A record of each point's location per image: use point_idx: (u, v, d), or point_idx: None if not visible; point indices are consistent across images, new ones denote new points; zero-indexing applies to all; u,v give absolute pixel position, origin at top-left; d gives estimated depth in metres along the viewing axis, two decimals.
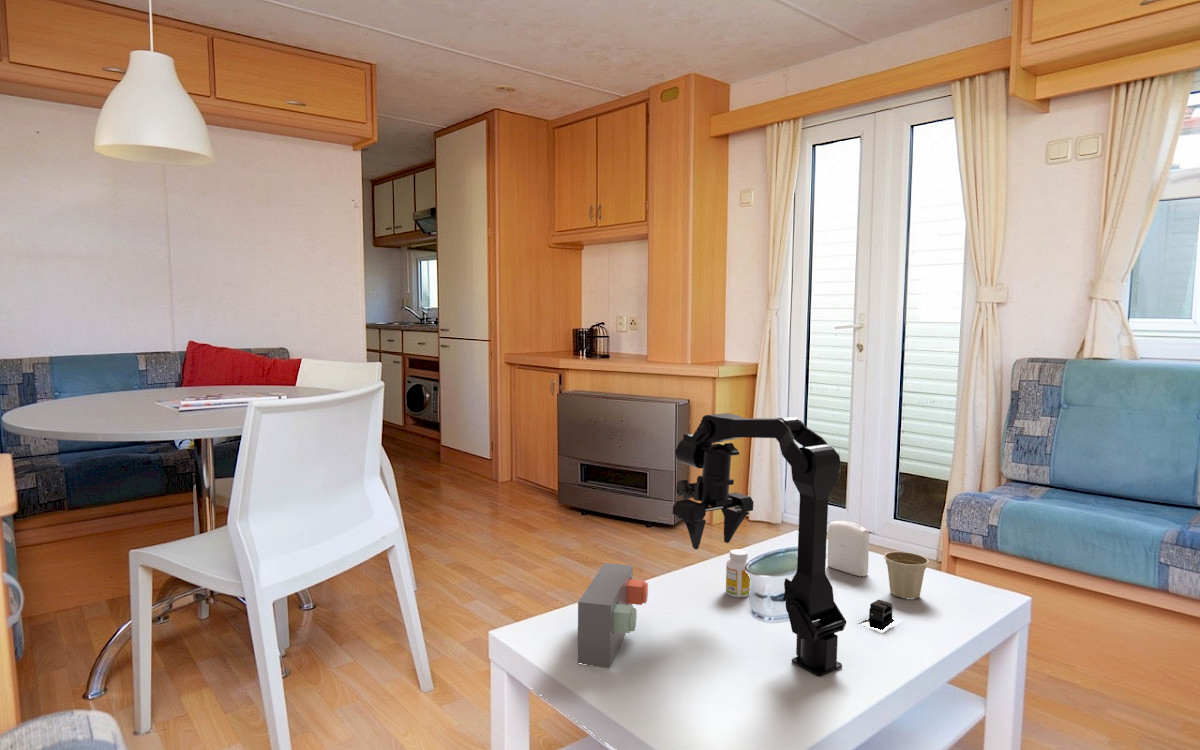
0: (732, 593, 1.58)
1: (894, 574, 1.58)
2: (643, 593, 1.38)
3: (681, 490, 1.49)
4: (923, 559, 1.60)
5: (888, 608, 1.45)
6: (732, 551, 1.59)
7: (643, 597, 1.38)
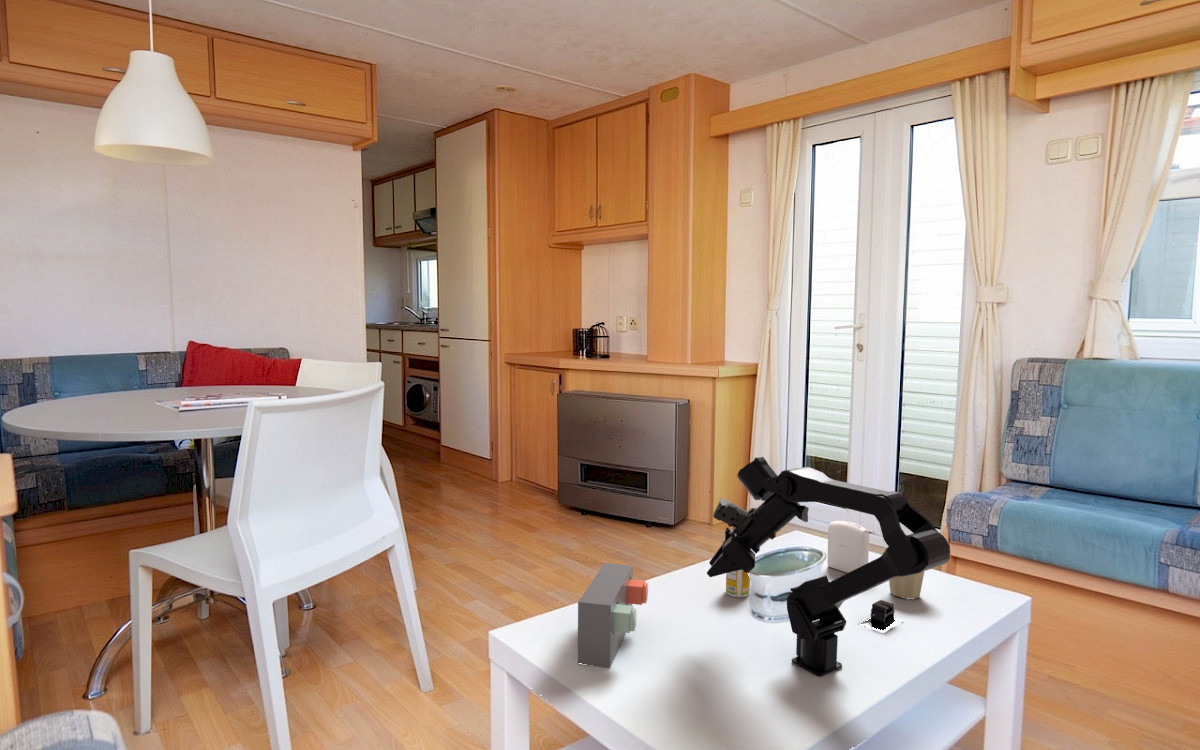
0: (732, 593, 1.58)
1: None
2: (643, 593, 1.38)
3: (729, 517, 1.31)
4: None
5: (890, 608, 1.45)
6: None
7: (643, 597, 1.38)
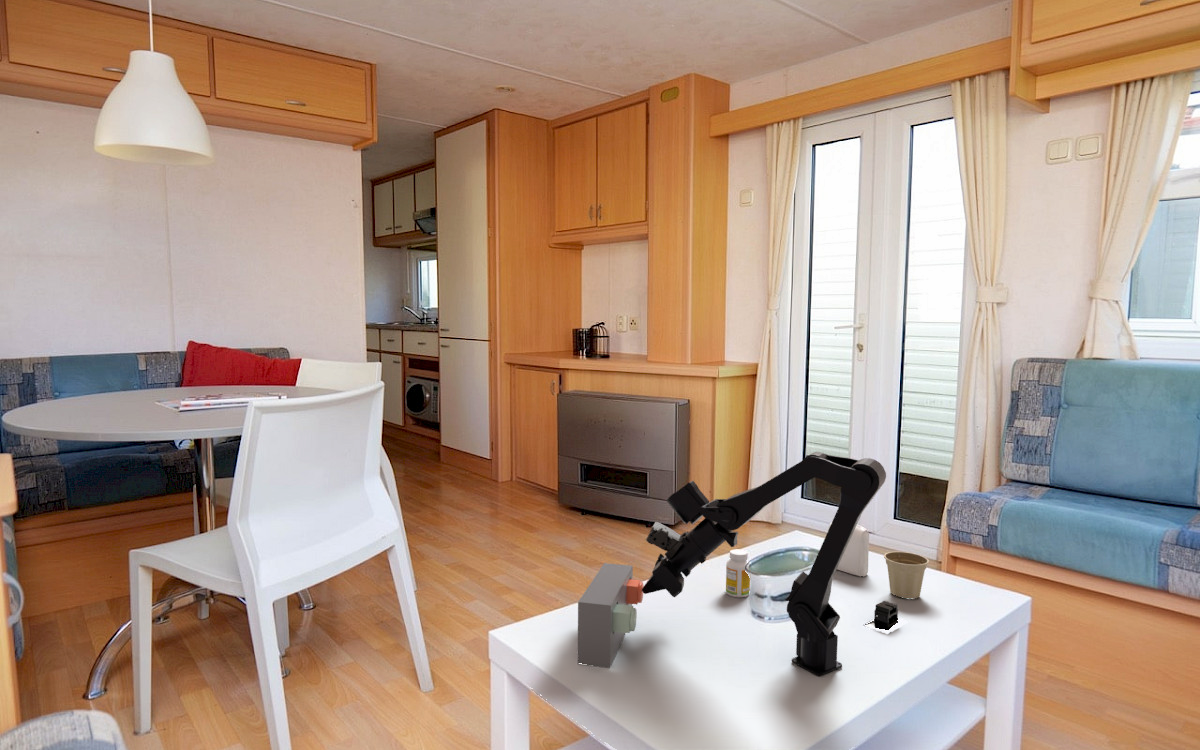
0: (732, 593, 1.58)
1: (894, 574, 1.58)
2: (638, 593, 1.38)
3: (660, 541, 1.34)
4: (923, 559, 1.60)
5: (893, 609, 1.44)
6: (732, 551, 1.59)
7: (638, 597, 1.38)
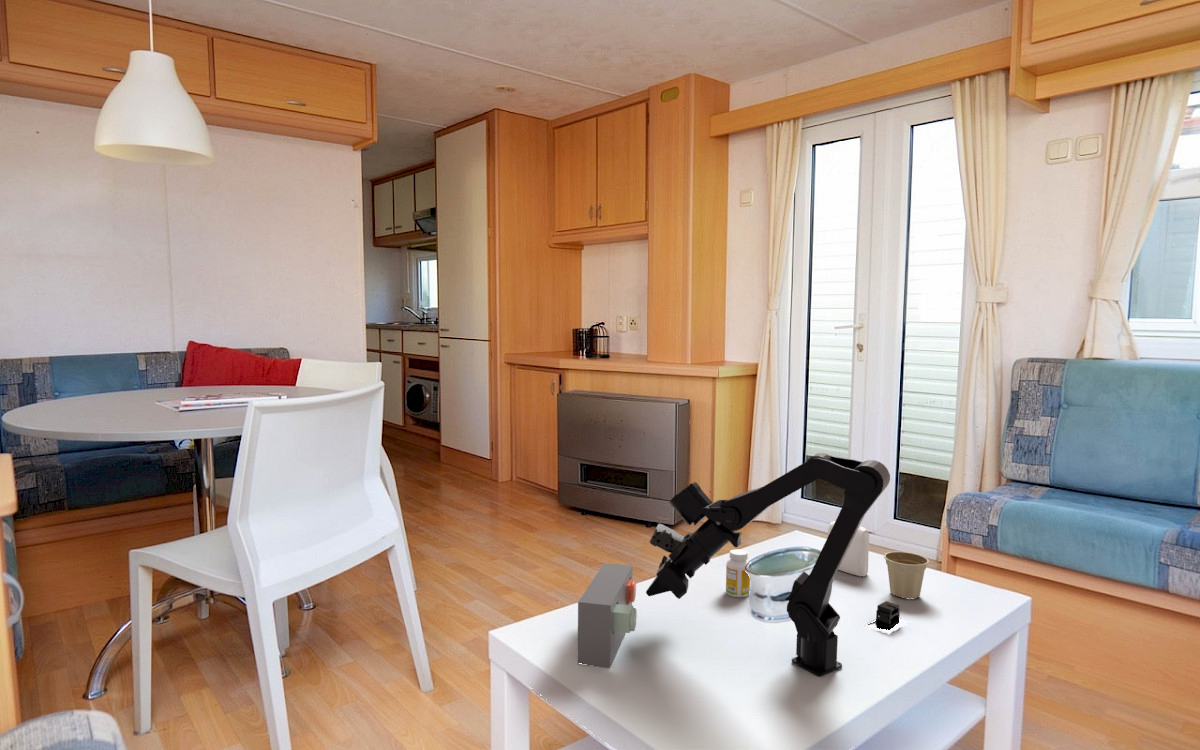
0: (732, 593, 1.58)
1: (894, 574, 1.58)
2: (631, 592, 1.39)
3: (663, 543, 1.34)
4: (923, 559, 1.60)
5: (895, 610, 1.44)
6: (732, 551, 1.59)
7: (631, 596, 1.39)
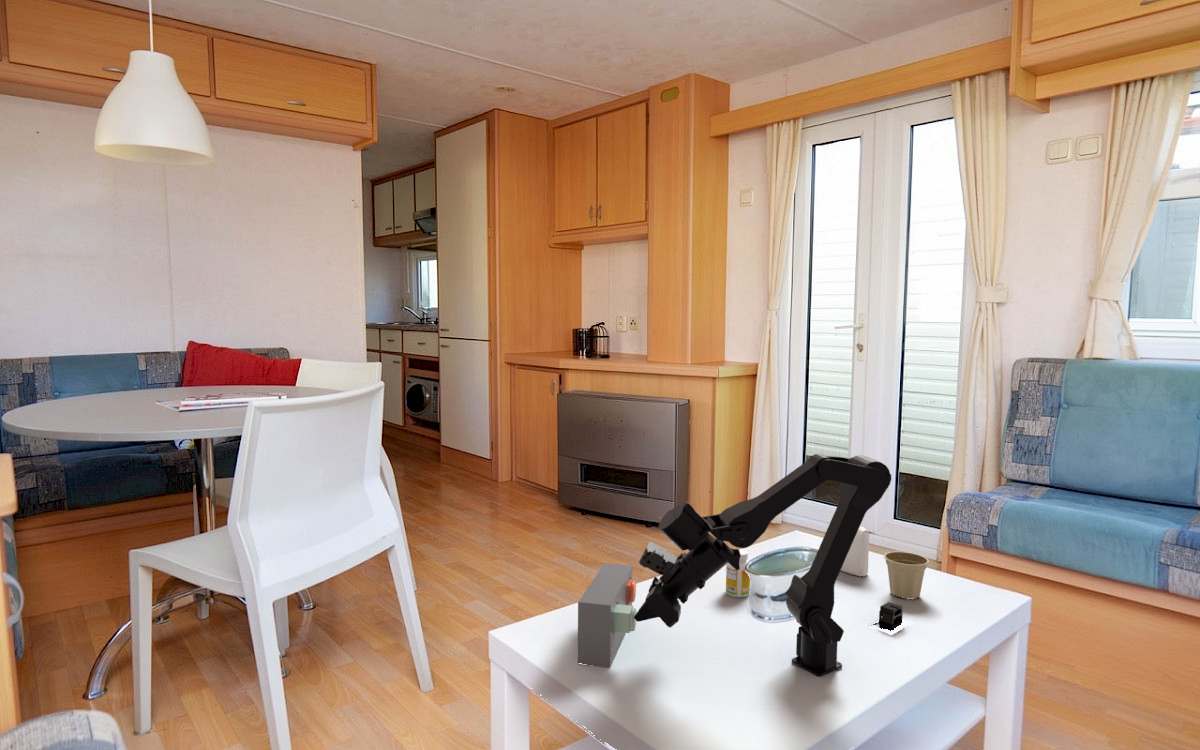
0: (732, 593, 1.58)
1: (894, 574, 1.58)
2: (631, 592, 1.39)
3: (654, 565, 1.21)
4: (923, 559, 1.60)
5: (898, 611, 1.44)
6: None
7: (631, 596, 1.39)
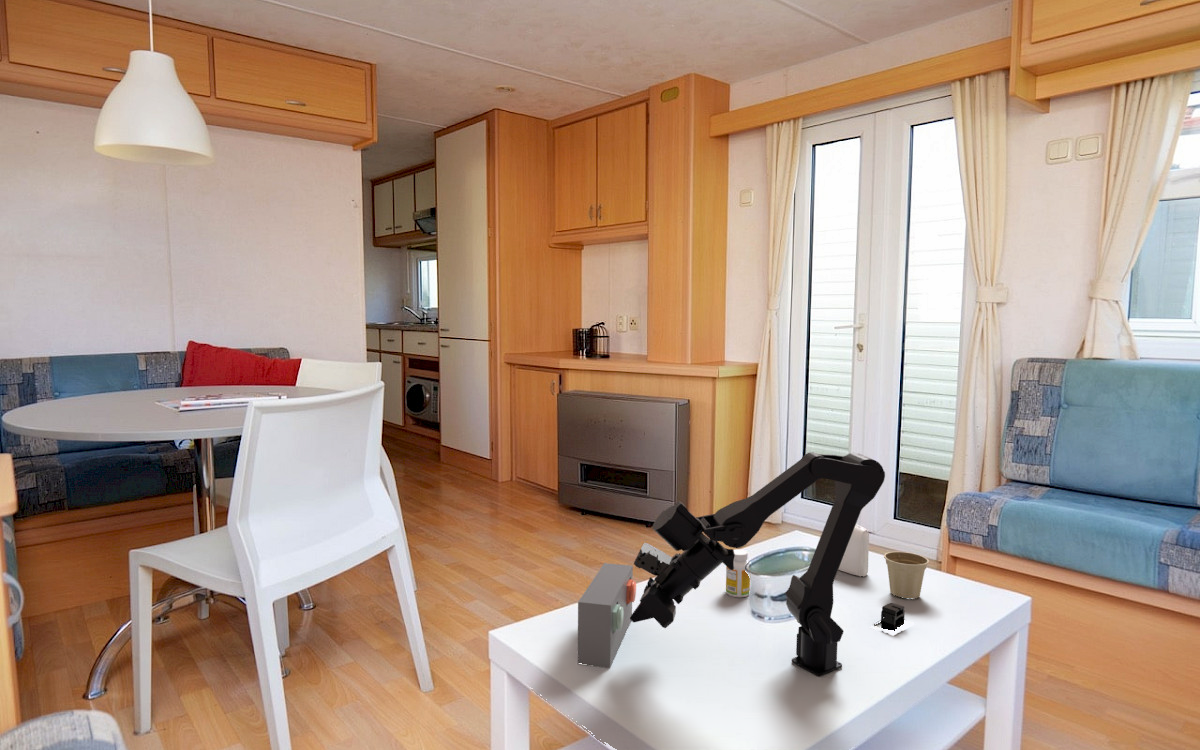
0: (732, 593, 1.58)
1: (894, 574, 1.58)
2: (631, 592, 1.39)
3: (648, 566, 1.22)
4: (923, 559, 1.60)
5: (900, 611, 1.44)
6: None
7: (631, 596, 1.39)
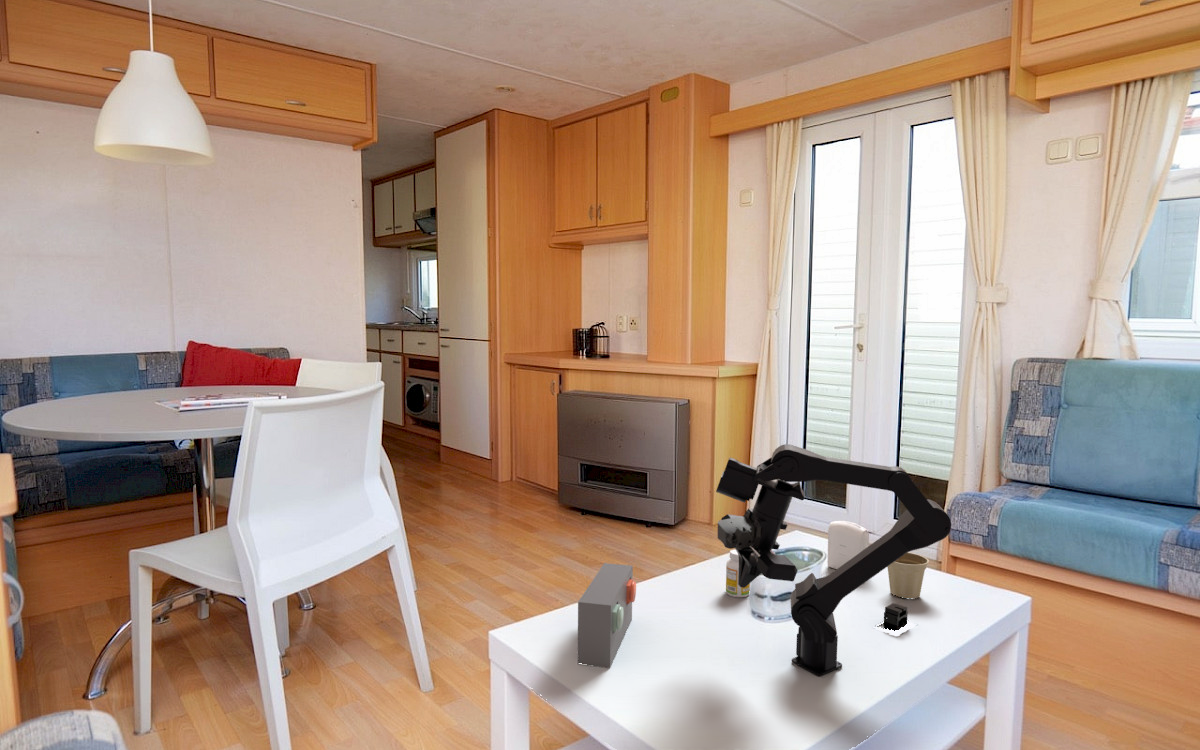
0: (732, 593, 1.58)
1: (894, 574, 1.58)
2: (631, 592, 1.39)
3: (746, 542, 1.22)
4: (923, 559, 1.60)
5: (903, 612, 1.43)
6: (732, 551, 1.59)
7: (631, 596, 1.39)
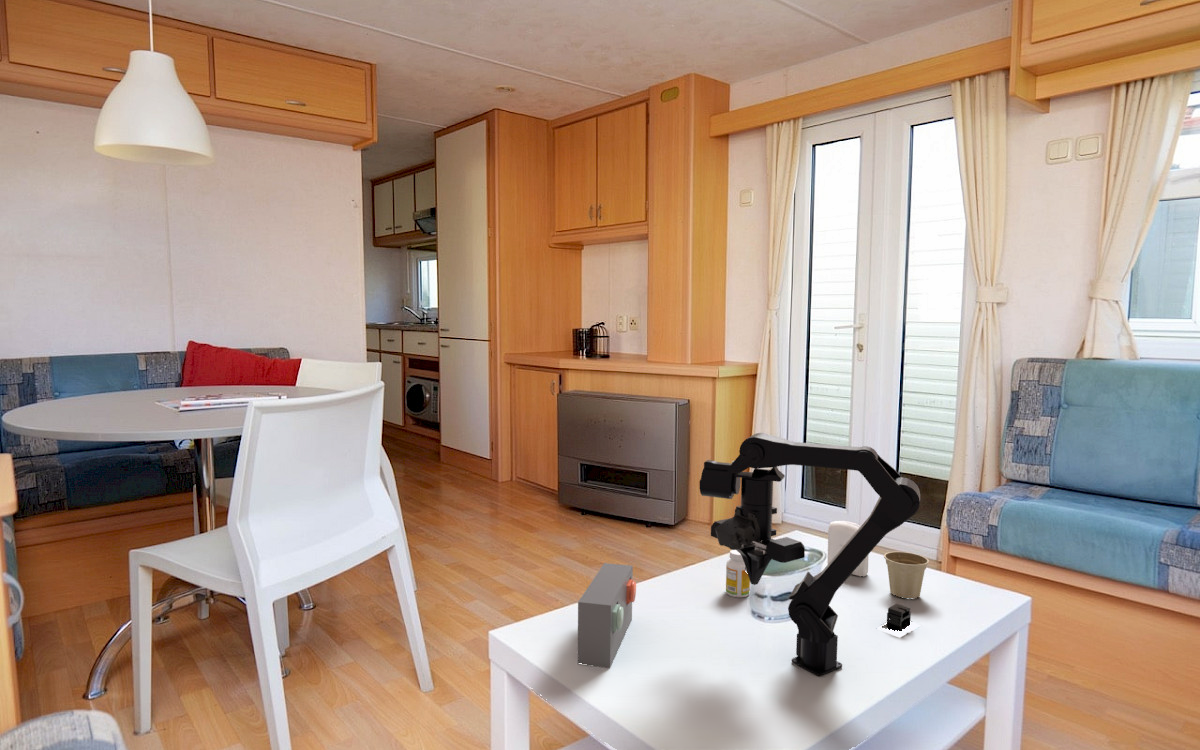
0: (732, 593, 1.58)
1: (894, 574, 1.58)
2: (631, 592, 1.39)
3: (750, 537, 1.23)
4: (923, 559, 1.60)
5: (906, 613, 1.43)
6: (732, 551, 1.59)
7: (631, 596, 1.39)
